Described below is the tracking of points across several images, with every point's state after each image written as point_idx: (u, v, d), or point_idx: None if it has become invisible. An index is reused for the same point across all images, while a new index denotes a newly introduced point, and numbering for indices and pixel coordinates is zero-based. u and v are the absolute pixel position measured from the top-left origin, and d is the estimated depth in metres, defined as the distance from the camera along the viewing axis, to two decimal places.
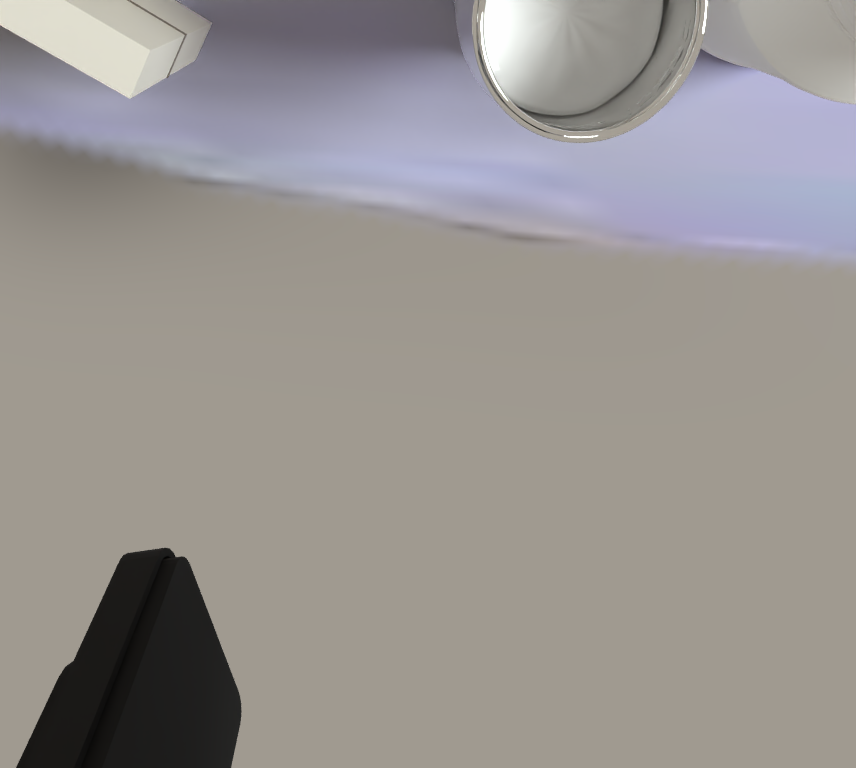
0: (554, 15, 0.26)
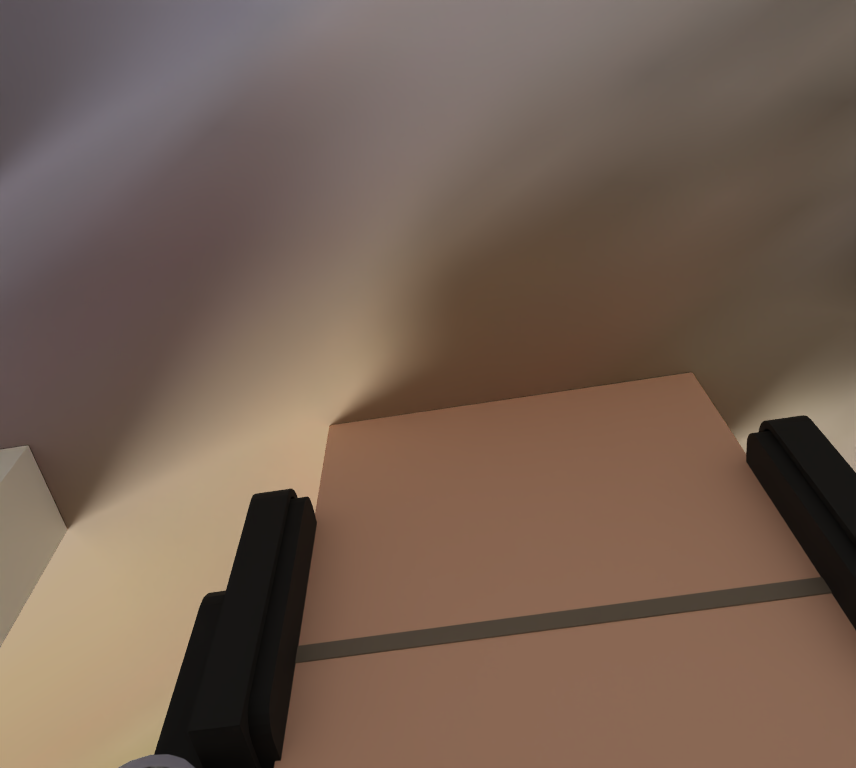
0: None
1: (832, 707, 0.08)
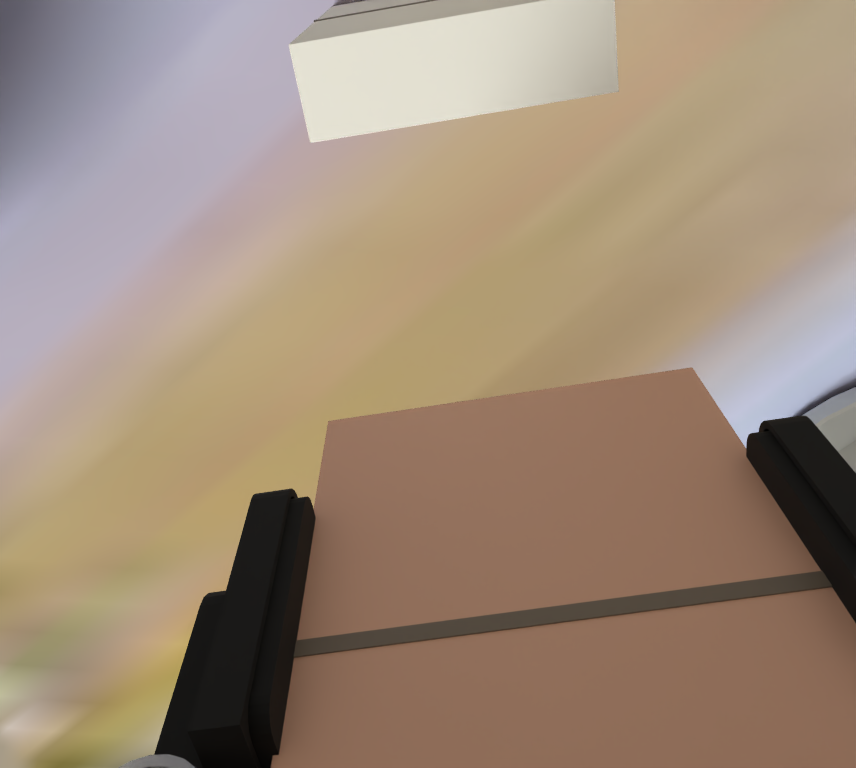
0: None
1: (833, 702, 0.08)
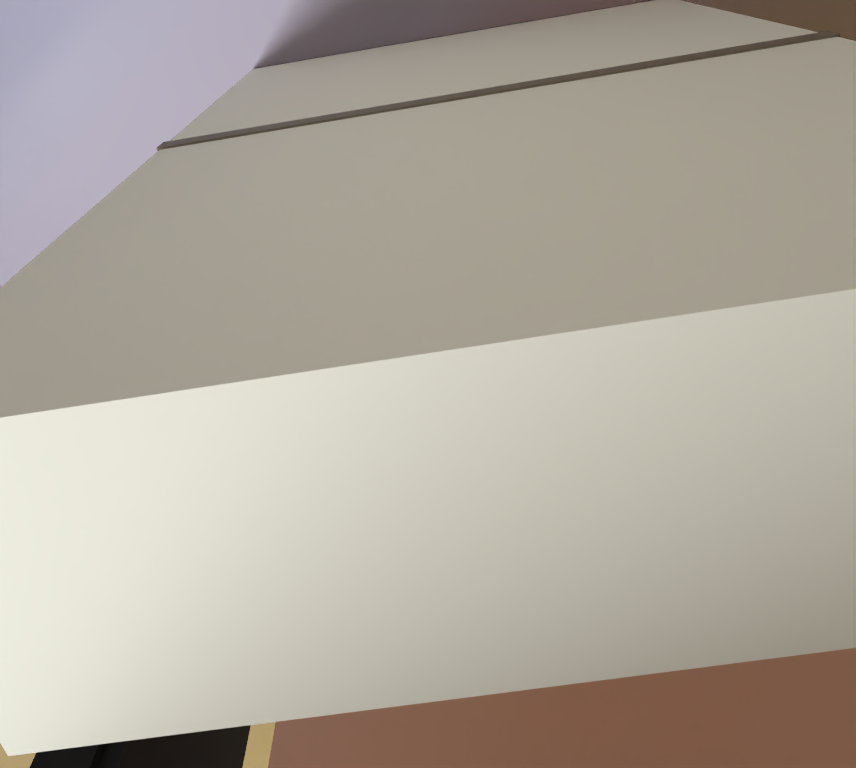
0: None
1: None
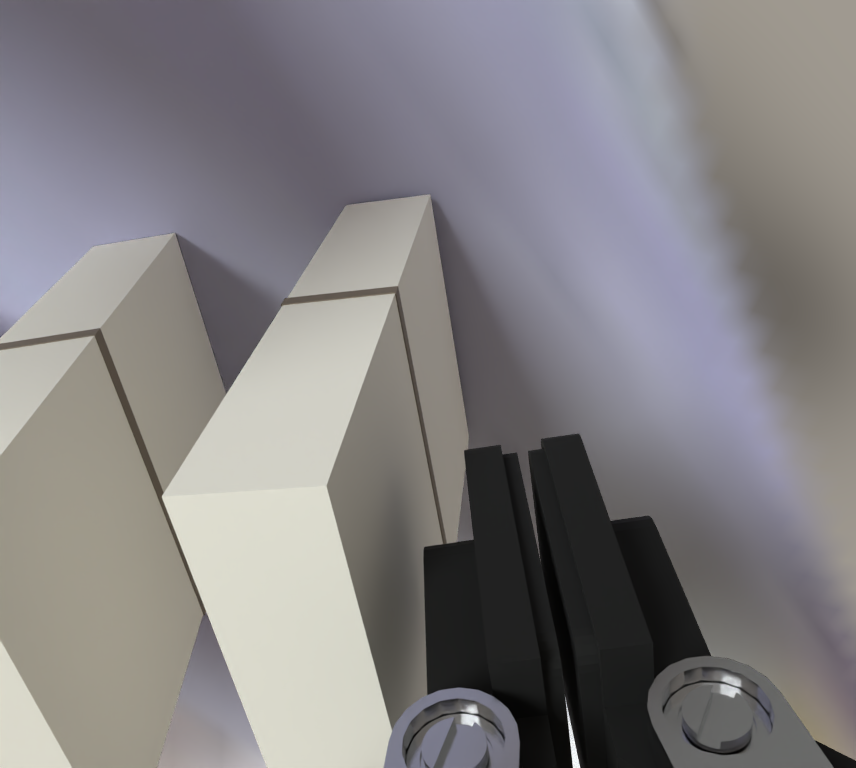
0: None
1: None
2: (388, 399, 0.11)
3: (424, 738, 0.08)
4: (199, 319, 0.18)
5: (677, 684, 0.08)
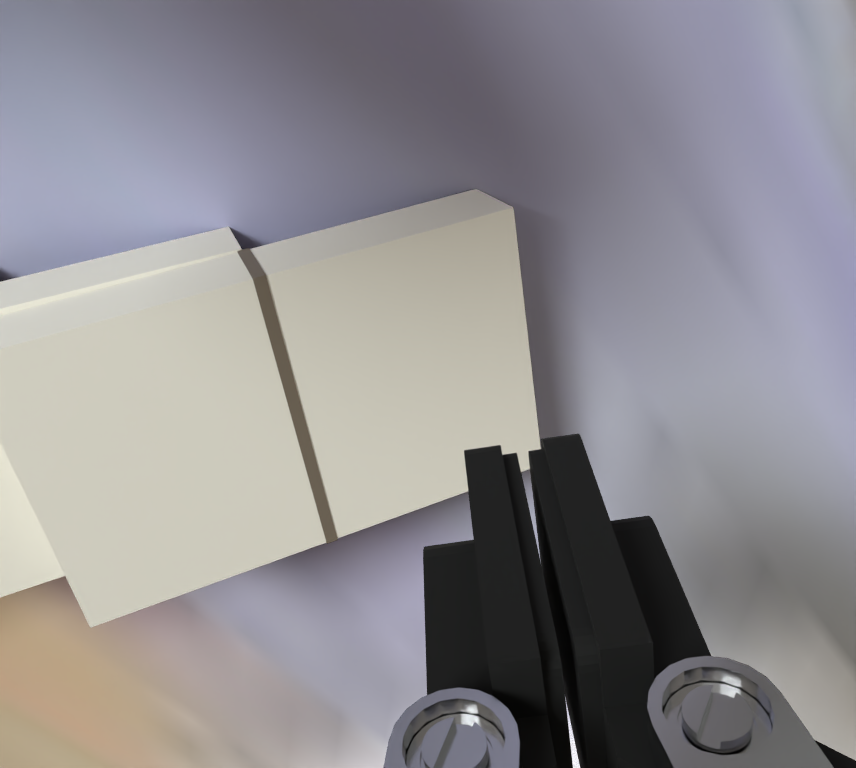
0: None
1: None
2: (171, 350, 0.15)
3: (424, 738, 0.08)
4: None
5: (677, 684, 0.08)
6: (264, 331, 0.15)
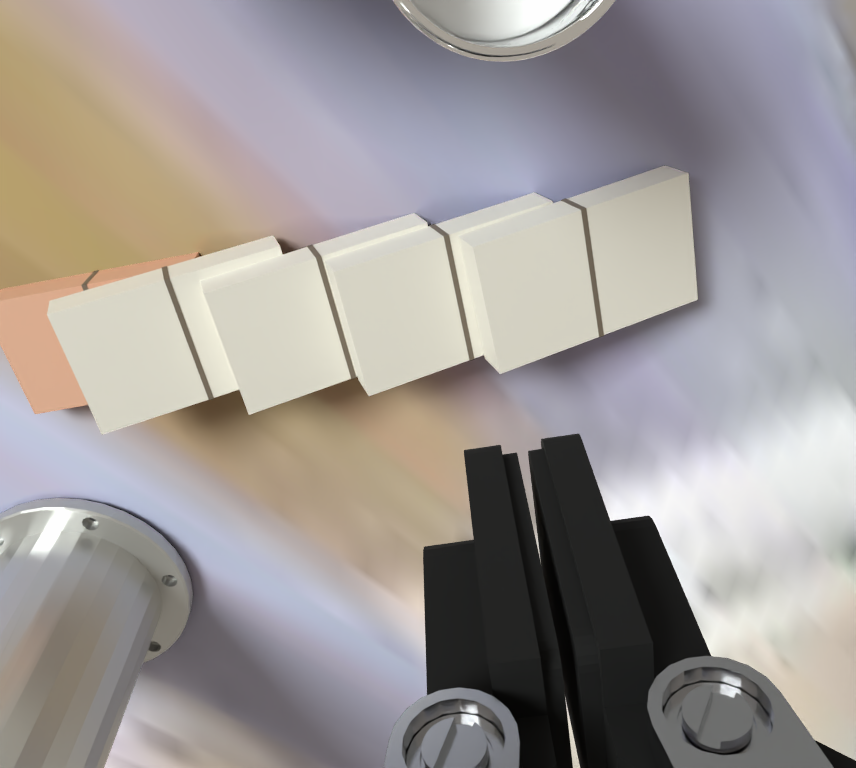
0: None
1: None
2: (547, 242, 0.34)
3: (424, 738, 0.08)
4: None
5: (677, 684, 0.08)
6: (583, 233, 0.34)
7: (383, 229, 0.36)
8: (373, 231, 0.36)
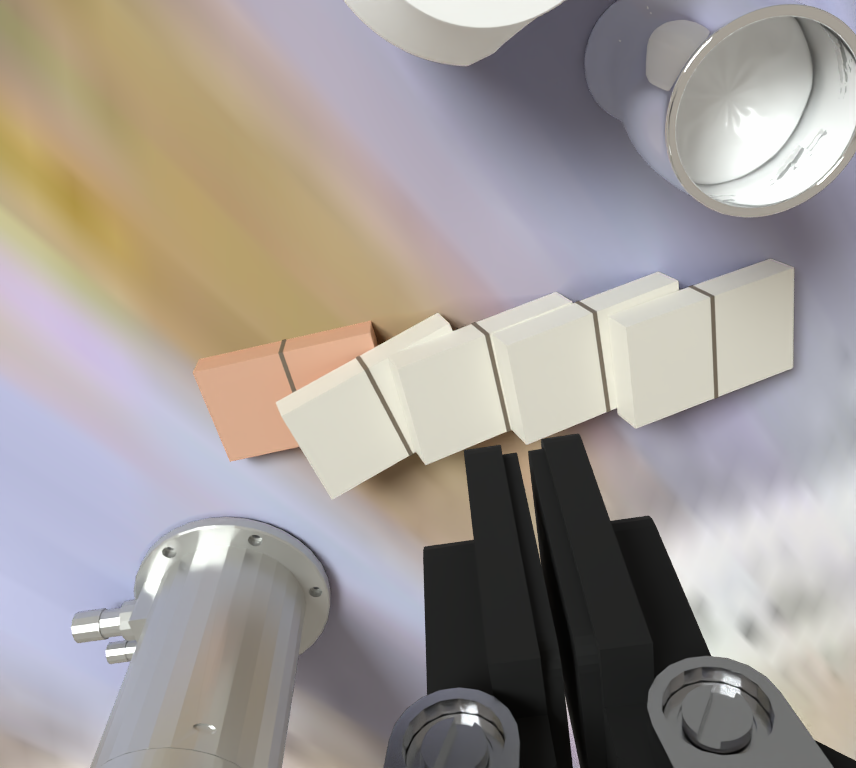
0: (734, 102, 0.30)
1: (284, 439, 0.47)
2: (682, 323, 0.42)
3: (424, 738, 0.08)
4: None
5: (677, 684, 0.08)
6: (710, 315, 0.42)
7: (534, 308, 0.44)
8: (526, 309, 0.44)
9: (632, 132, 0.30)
